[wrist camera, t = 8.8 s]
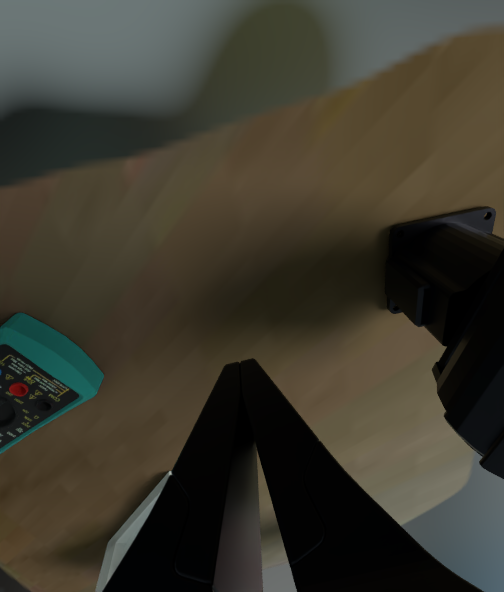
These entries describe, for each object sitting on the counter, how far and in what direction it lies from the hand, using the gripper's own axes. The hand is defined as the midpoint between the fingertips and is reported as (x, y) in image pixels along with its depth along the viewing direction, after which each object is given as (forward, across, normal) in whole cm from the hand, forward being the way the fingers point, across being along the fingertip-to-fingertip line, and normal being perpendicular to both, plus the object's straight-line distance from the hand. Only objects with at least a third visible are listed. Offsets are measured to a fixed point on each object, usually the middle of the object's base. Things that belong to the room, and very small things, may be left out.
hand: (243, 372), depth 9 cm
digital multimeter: (+13, +19, +8) cm, 25 cm away
